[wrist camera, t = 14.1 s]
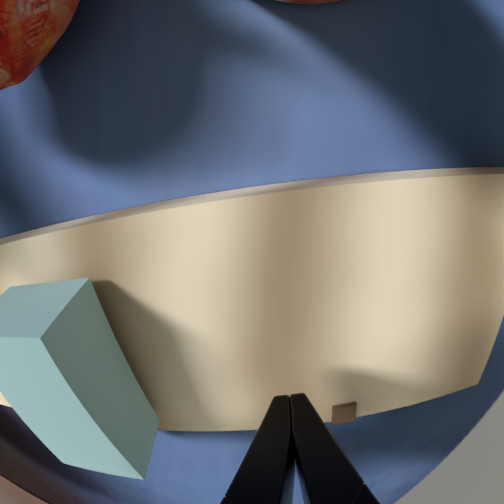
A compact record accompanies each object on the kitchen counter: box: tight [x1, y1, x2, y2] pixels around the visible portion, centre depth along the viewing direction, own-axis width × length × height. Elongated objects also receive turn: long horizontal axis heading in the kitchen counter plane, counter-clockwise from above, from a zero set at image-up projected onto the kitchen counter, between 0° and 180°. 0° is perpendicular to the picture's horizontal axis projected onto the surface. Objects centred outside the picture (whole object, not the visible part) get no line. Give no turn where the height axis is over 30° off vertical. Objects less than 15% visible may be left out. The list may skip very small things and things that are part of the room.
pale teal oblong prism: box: [0, 277, 160, 479], centre depth 10 cm, size 4×9×3 cm, turn 9°
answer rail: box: [0, 167, 504, 431], centre depth 11 cm, size 30×10×1 cm, turn 99°
